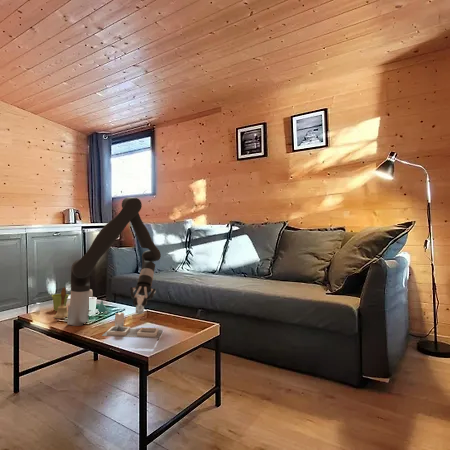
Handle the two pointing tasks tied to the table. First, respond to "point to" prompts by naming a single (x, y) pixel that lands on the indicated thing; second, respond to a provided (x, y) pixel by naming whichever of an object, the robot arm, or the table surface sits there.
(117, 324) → the block
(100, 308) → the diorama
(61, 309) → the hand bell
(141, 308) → the block
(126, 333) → the pallet board
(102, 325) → the table surface
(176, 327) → the table surface
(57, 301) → the plant pot
